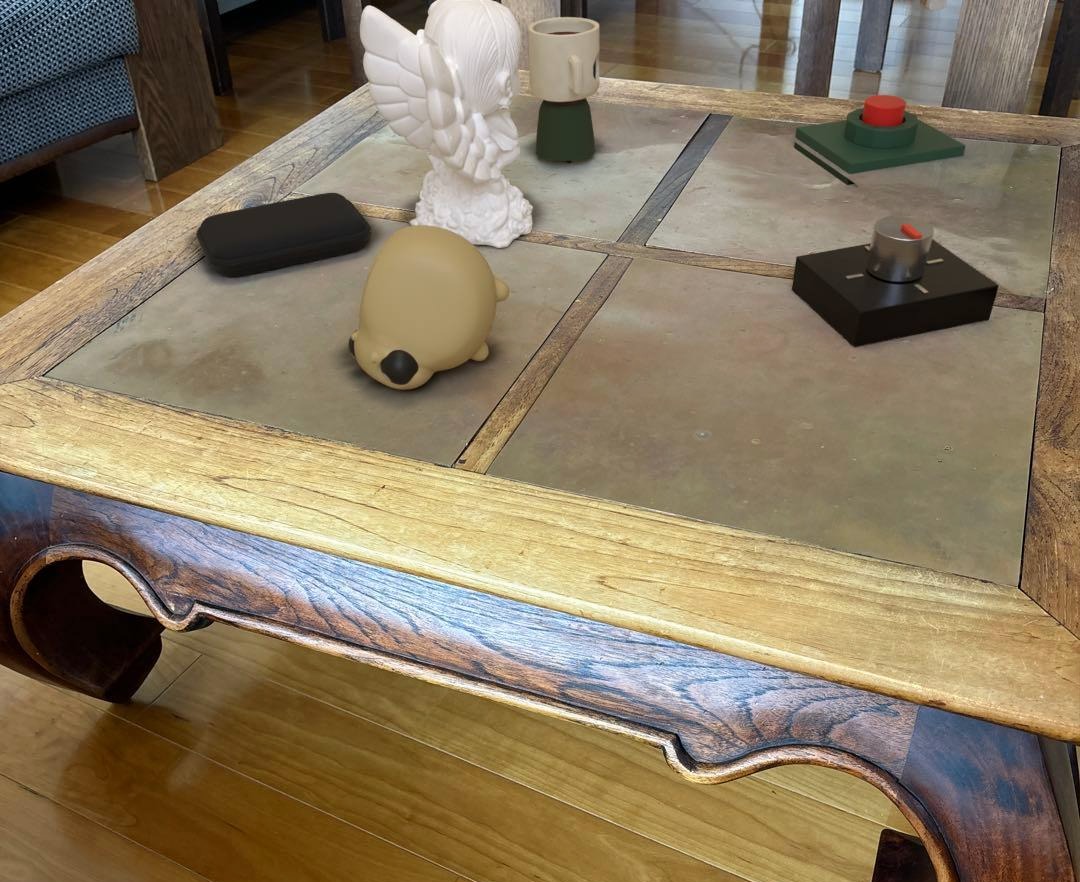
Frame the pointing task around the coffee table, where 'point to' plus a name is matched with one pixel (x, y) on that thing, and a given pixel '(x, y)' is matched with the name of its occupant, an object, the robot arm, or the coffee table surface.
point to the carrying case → (282, 234)
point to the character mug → (564, 85)
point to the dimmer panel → (892, 294)
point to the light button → (883, 110)
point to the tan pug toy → (425, 307)
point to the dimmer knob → (899, 248)
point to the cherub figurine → (454, 111)
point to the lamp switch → (875, 144)
